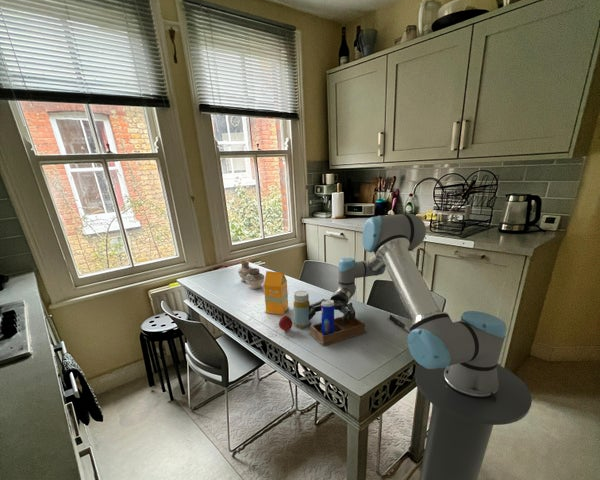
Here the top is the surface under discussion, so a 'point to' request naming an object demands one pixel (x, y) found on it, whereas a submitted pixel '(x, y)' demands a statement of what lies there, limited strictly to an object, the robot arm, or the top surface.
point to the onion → (285, 323)
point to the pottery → (250, 275)
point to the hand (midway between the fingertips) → (325, 319)
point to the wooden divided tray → (338, 330)
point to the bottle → (301, 308)
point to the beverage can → (327, 316)
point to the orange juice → (275, 292)
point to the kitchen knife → (399, 323)
